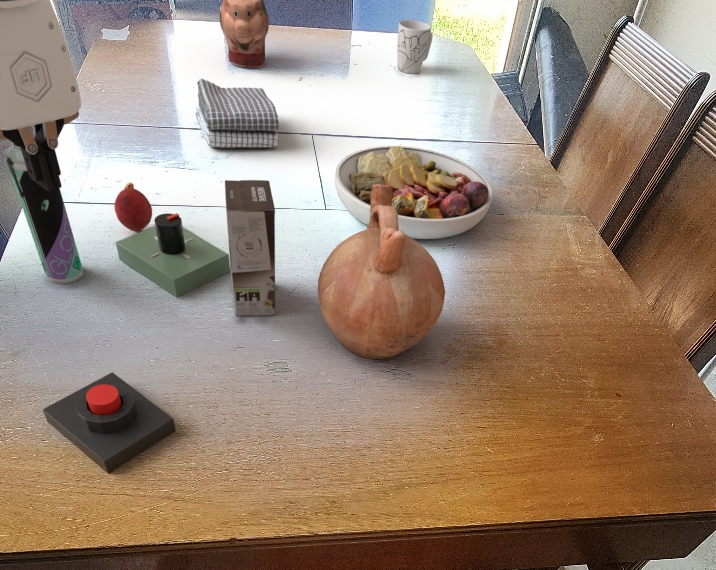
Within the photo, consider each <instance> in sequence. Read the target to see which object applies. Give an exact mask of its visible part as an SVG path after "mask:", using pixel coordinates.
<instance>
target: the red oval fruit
mask: <svg viewBox="0 0 716 570" xmlns="http://www.w3.org/2000/svg"><path fill="white" fill-rule="evenodd" d="M113 206H114V212H115V216H116V218H117V220H118V222H119V223H120V224H121V225H122V226H123V227H125V228H126V229H128V230H130V231H133V232H135V233H139V232H142V231H143V230H145V228H146V227H147V226H148V225H149V224H150V223H151V221H152V217H153V206H152V204H151V202H150V200H149V199H148V198H147V197H146V195H145V194H144V193H143V192H141V191H140V190H138V189H136V188H135V185H134V184H133V182H131V181H130V182H127V183H126V185H124V188H123V189H122V190H121V191H119V193H118V194H117V196H116V198H115V201H114V205H113Z"/></svg>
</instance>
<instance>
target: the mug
mask: <svg viewBox="0 0 716 570" xmlns="http://www.w3.org/2000/svg"><path fill="white" fill-rule="evenodd" d="M431 29H432V27H431V26H430V24H428V23H427V22H424V21H420V20H415V19H403V20H400V21H399V23H398V31H397V45H396V46H397V47H396V49H397V52H396V53H397V59H396V60H397V62H396V63H397V69H398V71H399V72H401V73H404V74H408V75H415V74H418V73H420V72H421V69H422V67H423V63H424V62H425V61H426V60H427V59H428V56H429V53H430V50H431V45H432V43H433V33H432V31H431Z"/></svg>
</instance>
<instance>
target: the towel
mask: <svg viewBox="0 0 716 570" xmlns="http://www.w3.org/2000/svg"><path fill="white" fill-rule="evenodd" d="M196 84H197V91H198V92H197V98H198V104H196V106H195V108H196V111H195V118H196V120H197V122H198V125H199V127H200V131H201V133H202V135H203V137H204V140H205V141H206V143H207V146H208V147H213V148H221V149H222V148H223V149H224V148H226V149H227V148H229V149H230V148H233V149H234V148H236V149H237V148H247V149H248V148H250V149H251V148H253V149H254V148H257V149H258V148H259V149H261V148H263V149H266V148H268V149H269V148H276V147H278V146H279V134H278V132H277V131H278V130H279V128H280V123H279V115H278V112H277V109H276V106H275V104H274V103H273V101H272V100H271V99H270V98H269V97H268V96H267V94H266V92H265V90H264V88H262V87H226V88H225V87H220V86H219V85H217V84H215V83H214V82H211V81H209V80H207V79H206V80H205V79H204V78H199V80H198V81H197V82H196Z"/></svg>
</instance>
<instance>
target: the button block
mask: <svg viewBox="0 0 716 570" xmlns="http://www.w3.org/2000/svg"><path fill="white" fill-rule="evenodd" d="M102 384H107V385H111V386H114V387H115V388H116V389H117V390H118V393H119V396H120V400H121V407H120V409H119V410H118V411H116V412H115V413H113V414H109V415H103V416H101V415H96V414H94V413H93V412H92V411H91V410H90V407H89V404H88V401H87V398H86V394H87V392H88V391H89V390H90V389H91V388H92V387H94V386H97V385H102ZM42 413H43V415H44V417H45V419H46V421H47V423H48V424H49V425H50V426H51V427H53V428H54V429H55V430H56V431H57V432H59V434H61V435H62V436H63V437H64V438H65V439H67V440H68V441H69V442H71V444H73V445H74V446H75V447H76V448H77V449H79V451H81V452H82V453H83V454H84V455H85V456H86V457H88V458H89V459H90V460H91V461H92V462H94V463H95V465H97V466H98V467H99V468H101V469H102V470H103V471H104V472H105V473H107V474H108V475H110V473H112V472H114V471H115V470H117V469H119V468H120V467H122V466H123V465H125V464H126V463H128V462H130V461H132V460H133V459H135V458H136V457H137V456H139V455H141V454H143V453H144V452H145V451H147V450H149V449H150V448H152V447H154V446H155V445H156V444H158V443H160V442H161V441H162V440H164V439H165V438H167V437H170V435H172V434H174V433H175V432H177V430H176V425H175V424H176V423H175V419H174V418H173V417H172V416H171V415H169V413H167V412H165V410H163V409H161V408H160V407H159V406H158V405H156V404H155V403H154V402H152V401H151V400H150V399H149V398H147V397H146V396H145V395H143V394H142V393H141V392H139V391H138V390H137V389H136V388H134V387H132V385H131V384H129V383H127V382H126V381H125V380H124V379H122V378H121V377H119V376H118V375H117V374H115V373H114V371H112V372H110V373H108V374H106V375H104V376H102V377H100V378H99V379H97V380H94V381H93V382H90V383H89V384H87V385H85V386H84V387H82V388H80V389H78V390H76V391H74V392H72V393H70V394H68V395H67V396H65V397H63V398H61V399H59V400H57V401H55V402H53V403H52V404H50V405H48V406H46V407H44V408H42Z"/></svg>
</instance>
